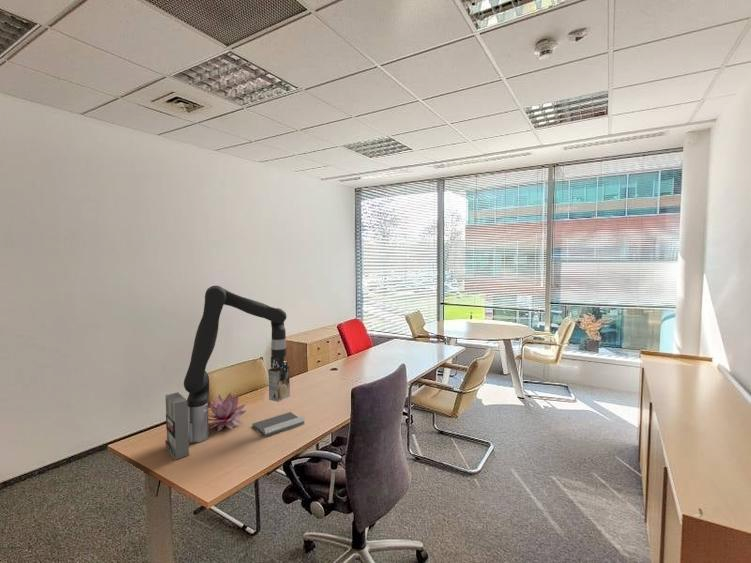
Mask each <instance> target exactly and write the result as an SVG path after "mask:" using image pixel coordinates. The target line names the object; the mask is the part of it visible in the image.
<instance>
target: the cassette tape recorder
mask: <svg viewBox="0 0 751 563" xmlns="http://www.w3.org/2000/svg"><path fill="white" fill-rule="evenodd" d="M165 430H166V439H165V442H164V443H165V449H166V450H167V452H168V453H169V454H170V456H171V457H172V458H173V459H174V461H175V460H176V461H177V460H179V459H182V458H184V457H186V456H187V457H188V456H190V443H189V437H188V401H187V398H185V397H184V395H182V394H180V393H179V392H173V393H169V394H165Z"/></svg>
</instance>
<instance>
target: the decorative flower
mask: <svg viewBox="0 0 751 563" xmlns="http://www.w3.org/2000/svg"><path fill="white" fill-rule="evenodd" d="M215 403H216V404H214V402H213V401H212V399H210V401H209V407H210V410H211V412H212V414H211V413H209V412H208V421H212V422H208V425H211V426H210V427H209V429H213V428H214V427H216V429H217V431H218V432H220V431H221V430H223V429H224V427H226V428H227V429H231V430H232V429H234V425H238V424H242V422H241V421H239V420H240V419H241V416H242V415H243V414H245V413H246V412H247V410H246V409H245V410H243V409H244V408H245V404H242V405H240V406H238V404H239V393H237V394H236V395H235V397H233V396H232V393H231V392H229V393H228V395H226V398H225V399H224V400H223V399H222V397H221V394H220V393H219V394H218V395H217V398H216V401H215ZM213 414H214V415H213ZM209 417H210V418H209ZM212 418H213V419H212ZM212 424H213V425H212Z"/></svg>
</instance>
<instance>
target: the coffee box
mask: <svg viewBox="0 0 751 563" xmlns="http://www.w3.org/2000/svg"><path fill="white" fill-rule="evenodd" d="M287 367H288V372H287V373H285V380H283V381H281V373H280V370H279V369H278V367H274V368H271V367H270V368H269V369H268V370H267V371H268V372H267V373H268V399H269V401H273V402H278V403H279V402H281V401H283V400H285V399H287V398H289V397H291V395H290V394H291V393H290V392H291V388H290V387H291V386H290V382H291V381H290V366H288V365H287ZM285 370H286V368H285Z"/></svg>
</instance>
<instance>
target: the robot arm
mask: <svg viewBox="0 0 751 563" xmlns="http://www.w3.org/2000/svg"><path fill="white" fill-rule="evenodd" d="M224 306H229V307H232V308H235V309H237V310H239V311H242V312H244V313H246V314H249V315H251V316H255V317H258V318H262V319H265V320H268V321H270V326H271V343H270V344H271V345H270V346H271V347H270V351H271V352H270V354H271V355H270V369H271V368H274V367H278V369H279V370H280V373H281V381H283V380H285V373H287V372H288V367H289V366H288V360H285V357H287V338H286V337H287V336H286V328H285V321H286V320H287V313H286V312H285V311H284V310H283V309H282V308H278V307H273V306H270V305H267V304H266V303H263V302H260V301H257V300H254V299H250V298H247V297H243V296H241V295H239V294H236V293H233V292H231V291H229V290H227V289H226V288H223V287H222V286H220V285H212V286H209V287H208V288H207V289H206V291H205V294H204V306H203V313H202V316H201V319H200V321H199V324H198V327H197V330H196V333H195V337H194V342H193V347H192V352H191V356H190V362H189V366H188V369H187V371H186V374H185V377H184V380H183V387H184V390H185V391H186V392H188V395H187V398H186V400H187V401H188V437H189V444H194V443H195V444H196V443H201V442H204V441H206V440H207V439H209V435H210V434H209V433H210V432H209V428H210V427H209V424H208V423H209V420H208V419H209V416H208V413H209V396H210V376H209V373H208V372H207V371H206V368H207V364H208V362H209V360H210V358H211V356H212V354H213V351H214V350H215V346H216V342H217V337H218V333H219V325H220V316H221V314H222V310H223V307H224ZM287 366H288V367H287ZM285 368H286V370H285Z"/></svg>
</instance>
